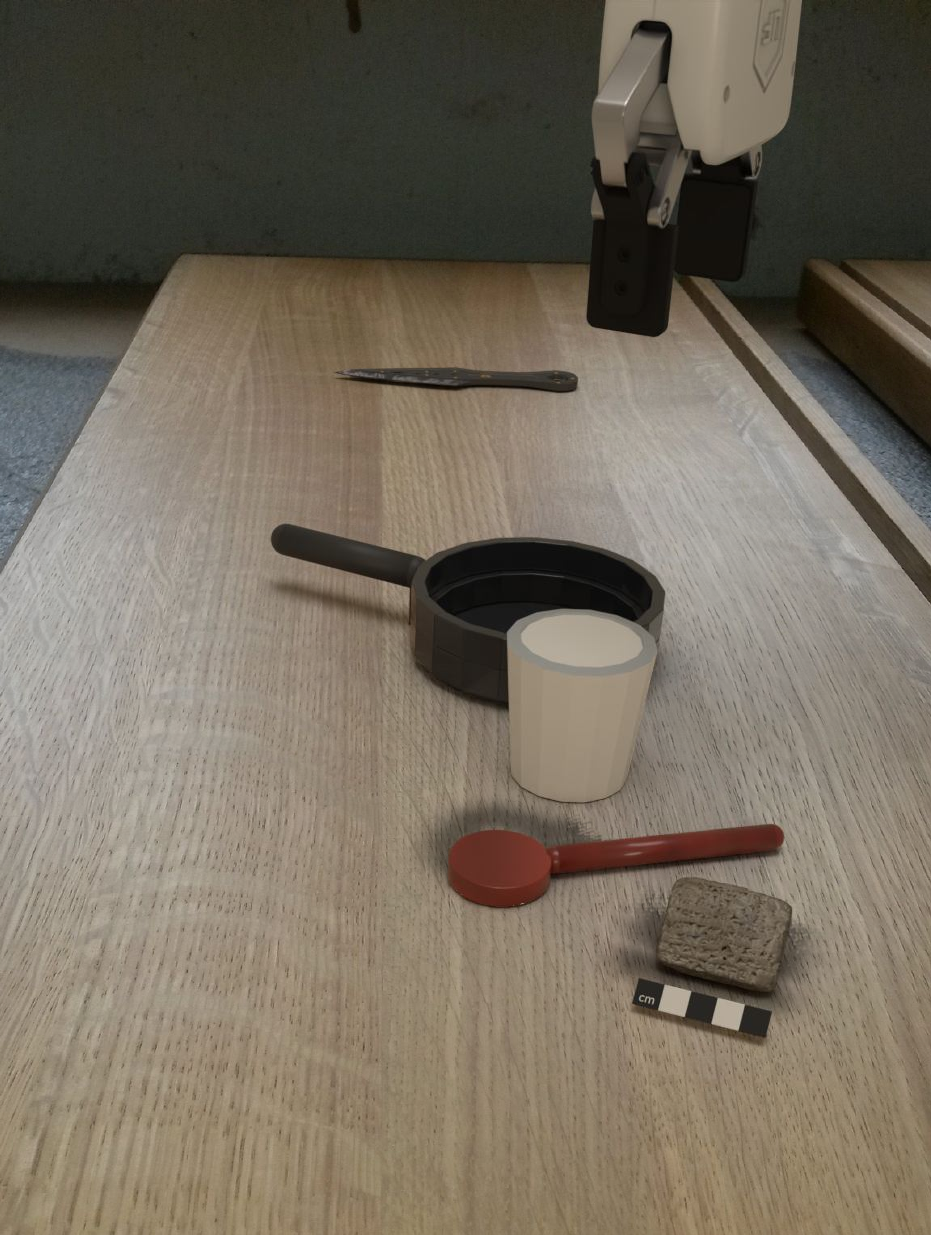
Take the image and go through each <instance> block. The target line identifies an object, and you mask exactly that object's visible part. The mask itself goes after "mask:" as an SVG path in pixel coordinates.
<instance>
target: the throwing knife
mask: <svg viewBox="0 0 931 1235" xmlns="http://www.w3.org/2000/svg"><path fill="white" fill-rule="evenodd" d="M333 374H339V375H343V376H347V377H348V376H349V377H350V378H360V379H370V380H380V381H389V382H390V381H391V382H399V383H400V382H401V383H410V384H411V383H413V384H423V385H437V386H448V387H449V386H450V387H465V386H467V387H468V386H509V387H528V388H535V389H542V390H550V391H558V392H560V391H571V390H575V389H577V387H578V385H579V377H578V376H577V375H576V374H575V373H573V372H570V371H565V370H557V369H556V370H555V369H553V370H540V371H539V370H538V371H498V370H479V369H478V370H477V369H469V368H464V367H458V366H457V367H456V366H455V367H454V366H453V367H452V366H451V367H389V368H387V367H386V368H382V367H381V368H353V369H349V370H348V369H347V370H339V371H334V372H333Z"/></svg>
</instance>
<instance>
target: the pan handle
mask: <svg viewBox="0 0 931 1235" xmlns="http://www.w3.org/2000/svg"><path fill="white" fill-rule="evenodd" d="M270 535H271V536H270V543H271V547H272V548H273V550H274V551H275V552H276V553H278V554H279V555H281V556H285V557H289V558H293V559H297V560H300V561H304V562H308V563H312V564H315V565H319V566H324V567H328V568H331V569H334V570H335V569H336V570H339V571H341V572H342V571H343V572H347V573H350V574H354V575H358V576H362V577H366V578H370V579H373V580H378V581H381V582H385V583H389V584H393V585H396V586H400V587H405V588H409V602H408V605H409V606H408V625H409V626H410V621H411V585H412V580H413V578H414V576H415V573H416V571H417V569H418V567H419V565H420V564H422V563H423V562H425V561H426V560H427V559H426V558H423V557H422V556H420V555H415V554H412V553H407V552H403V551H400V550H396V549H391V548H387V547H384V546H380V545H375V544H372V543H368V542H364V541H359V540H356V539H352V538H348V537H344V536H339V535H335V534H331V533H327V532H323V531H320V530H315V529H311V528H307V527H303V526H300V525H296V524H293V523H292V524H291V523H281V524H279V525H277V526H275V527H274V529H273V530H272V532H271V534H270Z"/></svg>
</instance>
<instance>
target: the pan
mask: <svg viewBox="0 0 931 1235" xmlns="http://www.w3.org/2000/svg"><path fill="white" fill-rule="evenodd" d="M425 560H426V561H425V562H423V563H422V564H420V565H419V567H418V569H417V571H416V573H415V576H414V578H413V580H412V585H411V621H410V625H409V626H410V628H409V641H410V645H411V648H412V652H413V656H414V658H415V659H416V660H417V661H418V662H419V663H420V664H421V665H422V666H423V667H424V668H425V669H426V670H427V671H428V672H429V673H430V674H431V675H433V676H434V677H435V678H436V679H437V680H439V681H440V682H442V683H443V684H444V685H446V686H448V687H450V688H451V689H453V690H456V691H457V692H460V693H462V694H464V695H467V696H469V697H472V698H475V699H478V700H482V701H486V702H489V703H493V704H497V705H503V706H509V692H508V654H507V632H508V630H509V629H510V628H511V627H512V626H513V625H514V623H515V622H516V621H517V620H520V619H522V618H525V617H527V616H529V615H532V614H534V613H537V612H543V611H550V610H557V609H582V610H594V611H598V612H603V613H608V614H613V615H617V616H620V617H622V618H625V619H627V620H629V621H632V622H634V623H636V624H639V625H640V626H641V627H643V628H644V629H645V630H646V631H647V632H648V633H650V634H651V635H652V636H653V637H654V639H655V643H656V647H657V650H658V651H657V655H656V659H655V664H654V668H653V671H655V669H656V668H657V663H658V656H659V655H658V654H659V648H660V640H661V635H662V634H661V633H662V625H663V620H664V619H663V618H664V612H665V604H666V595H667V594H666V590H665V588H664V587H663V585H662V584H661V582H660V581H659V579H658V578H657V575H655V574H654V573H652V572H651V571H649V570H648V569H646V568H645V567H644V566H642V565H641V564H639V563H638V562H637V561H635V560H634V559H631V558H629V557H628V556H624V555H621V554H619V553H617V552H615V551H612V550H610V549H607V548H603V547H600V546H595V545H591V544H587V543H583V542H578V541H574V540H566V539H558V538H557V539H555V538H546V537H537V536H520V537H519V536H518V537H517V536H516V537H514V536H513V537H495V538H487V539H481V540H476V541H468V542H463V543H461V544H458V545H457V544H456V545H455V546H452V547H449V548H447V549H446V548H445V549H444V550H440V551H438V552H436V553H434V554H433V555H431V556H430V557H428V558H427V559H425Z"/></svg>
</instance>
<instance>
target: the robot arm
mask: <svg viewBox="0 0 931 1235" xmlns="http://www.w3.org/2000/svg"><path fill="white" fill-rule="evenodd" d="M802 3H803V0H605V4H604V14H603V22H602V32H601V35H602V36H601V43H600V44H601V45H600V56H599V69H598V70H599V71H598V72H599V73H598V86H597V89H598V90H597V95H596V97H595V98H594V101H593V103H592V104H593V105H592V108H591V126H592V136H593V143H594V144H593V146H594V154H595V155H594V157H593V158H592V159H591V162H590V168H592V170H591V171H590V175H591V176H592V181H593V184H594V190H593V194H592V198H591V203H590V214H591V218H592V220H593V224H592V236H591V237H592V238H591V249H590V252H591V253H590V261H589V262H590V263H589V275H588V289H587V302H586V314H585V315H586V316H585V317H586V318H585V319H586V321H587V324H588V325H589V326H590V327H591V328H594V329H599V330H607V331H611V332H619V333H625V334H630V335H631V334H632V335H636V336H641V337H642V336H643V337H650V338H657V337H659V336H662V335H663V334H664V333H665V332H667V330H668V327H669V322H670V321H669V320H670V311H671V304H672V293H673V282H674V274H677V275H681V276H688V277H694V278H701V279H708V280H709V279H710V280H715V281H723V282H728V283H729V282H730V283H736V282H739V281H740V280H742V279H743V278H744V277H745V275H746V273H747V267H748V260H749V253H750V245H751V240H752V239H751V237H752V231H753V223H754V217H755V209H756V201H757V195H758V185H759V181H758V180H756V179H757V178H758V176H759V174H760V172H761V167H762V163H763V147H762V145H763V144H765V143H767V142H769V141H770V140H772V139H773V138H775V137H776V136H777V135H778V134H779V133H780V132H781V131H782V130H783V129H784V128H785V126H786V125H787V123H788V119H789V118H790V113H791V105H792V97H793V88H794V80H795V71H796V62H797V53H798V52H797V51H798V43H799V35H800V34H799V33H800V23H801V14H802V13H801V12H802ZM689 162H690V167H691V171H692V172H693V173H690V172H686V170H687V167H688V164H689ZM651 165H652V166H659V167H660V168H659V171H658V173H657V177H656V181H655V183H654V178H653V175H652V171H651ZM679 192H680V193H679ZM678 195H679V200H678V209H677V218H676V224H672V223H669V222H670V219H671V216H672V213H673V210H674V206H675V204H676V201H677V198H678Z"/></svg>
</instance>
